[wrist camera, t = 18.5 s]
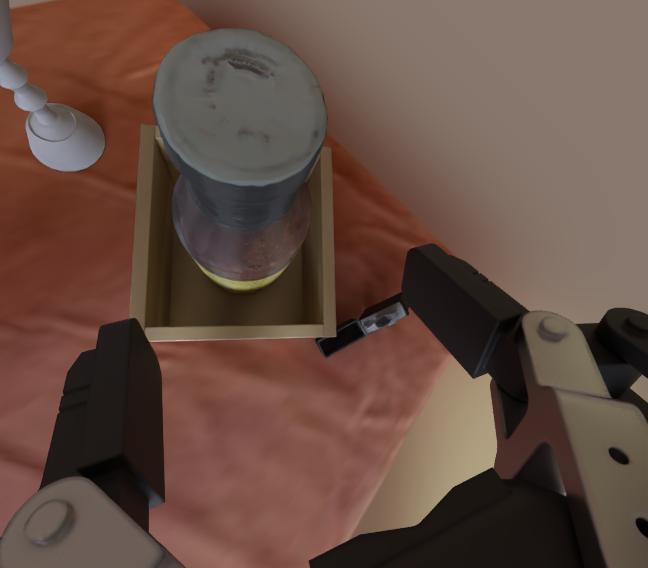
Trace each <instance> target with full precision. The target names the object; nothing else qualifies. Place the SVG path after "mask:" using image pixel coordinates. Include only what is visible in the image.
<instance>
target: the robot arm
mask: <svg viewBox="0 0 648 568" xmlns="http://www.w3.org/2000/svg"><path fill="white" fill-rule="evenodd" d="M401 290H402V295H403V298H404V300H405V302H406V303H407V305H408V306H409V307H410V308H411V309H412V310H413V311H414V313H415V314H416V315H417V316H418V317H419V318H420V319H421V320H422V322H423V323H424V324H425V325H426V326H427V327H428V328H429V329H430V331H431V332H432V333H433V334H434V335H435V336H436V337H437V339H438V340H439V341H440V342H441V343H442V344H443V345H444V346H445V348H446V349H447V350H448V351H449V352H450V353H451V354H452V355H453V356H454V358H455V359H456V360H457V361H458V362H459V363H460V364H461V366H462V367H463V368H464V369H465V370H466V371H467V372H468V373H469V375H470V376H471V377H472V378H473V379H474V378H477V377H479V376H482V375H484V374H487V373H488V374H489V375H490V376H491V377H492V380H491V383H490V390H491V398H492V405H493V413H494V421H495V429H496V437H497V454H496V459H495V463H494V469H493V468H490V469H488V470H486V471H484V472H482V473H481V474H478V475H476V476H475V477H472V478H470V479H469V480H466V481H465V482H463V483H461V484H459V485H457V486H455V487H453V488H452V489H451V490H450V491H449V492H448V493H447V495H446V496H445V497H444V498H443V499H442V500H441V501H440V502H439V503H438V504H437V505H436V506H435V507H434V509H432V511H431V512H430V513H429V514H428V515H427V516H426V517H425V518H424V519H423V520H422V521H421V522H420V523H419V524H418V525H416V526H412V527H406V528H400V529H393V530H387V531H381V532H374V533H368V534H361V535H358V536H357V537H355V538H353V539H351V540H349V541H347V542H345V543H343V544H341V545H339V546H337V547H335V548H333V549H331V550H329V551H327V552H325V553H323V554H321V555H319V556H317V557H315V558H313V559H311V560H309V565H310V568H648V403H647V402H646V401H645V400H643V399H642V398H641V397H640V396H639V395H637V394H636V393H635V392H634V391H632V390H631V389H630V387H631V386H632V385H633V384H634V383H635V381H636V380H637V379H638V378H639V377H640V376H641V375H642V374H643V375H644V376H645V377H647V378H648V315H647V314H645V313H643V312H640V311H636V310H633V309H628V308H613V309H610V310H608V311H607V312H606V314H605V315H604V317H603V318H602V319H601V321H600V322H599V323H590V324H589V323H588V324H574V323H573V322H572V321H570V320H569V319H567V318H565V317H563V316H561V315H558V314H556V313H553V312H548V311H531V312H530V311H528V310H527V309H526V308H525V307H523V306H522V305H520V304H519V303H518V302H517V301H516V300H514V299H513V298H512V297H511V296H509V295H508V294H506V293H505V292H504V291H503V290H502V289H500V288H499V287H498V286H496V285H495V284H494V283H493V282H491V281H490V282H489V281H488V279H487V278H486V277H485V276H484V275H482V274H481V273H480V274H479V273H478V271H477V270H476V269H475V268H473V267H472V266H471V265H469V264H468V263H467V262H465V261H463V260H461V259H459V258H456V257H454V256H452V255H448V254H447V253H446V252H445V251H443V250H442V249H441V248H440V247H438V246H437V245H436V244H427V245H423V246H419V247H415V248H411V249H410V250H409V251H408V253H407V256H406V262H405V268H404V274H403V280H402V286H401ZM63 394H64V396H62V398H61V402H60V406H59V411H60V413H58V415H57V419H56V423H55V427H54V432H53V436H52V440H51V444H50V448H49V453H48V457H47V461H46V465H45V470H44V474H43V478H42V482H41V485H40V488H39V490H38V492H37V493H35V494H34V495H33V496H32V497H30V498H29V499H28V500H27V501H26V502H25V503H24V504H23V505H22V506H21V507H20V508H19V510H18V511H17V512H16V513H15V514H14V516H13V517H12V519H11V520H10V521H9V523H8V525H7V527H6V528H5V530H4V532H3V535H2V537H1V538H0V568H186V567H185V566H184V565H183V564H182V563H181V562H179V561H178V560H177V559H176V558H175V557H174V556H173V555H172V554H171V553H170V552H169V551H168V550H167V549H166V548H165V547H164V546H163V545H162V544H161V543H159V542H158V541H157V540H156V539H155V538H154V537H153V536H152V535H151V534H150V533H149V508H152V507H154V506H157V505H159V504H162V503H164V502H165V482H164V445H163V409H162V377H161V370H160V365H159V362H158V359H157V356H156V354H155V352H154V350H153V349H152V347H151V345H150V343H149V341H148V339H147V337H146V335H145V333H144V331H143V329H142V327H141V325H140V323H139V322H138V320H137V319H136V318H130V319H126V320H122V321H118V322H114V323H110V324H106V325H102V326H101V327H100V329H99V333H98V339H97V345H96V349H93V350H89V351H86V352H82V353H81V354H80V355H79V357H78V358H77V360H76V361H75V362H74V364H73V365H72V367H71V368H70V369H69V371H68V372H67V377H66V381H65V385H64V389H63Z"/></svg>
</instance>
